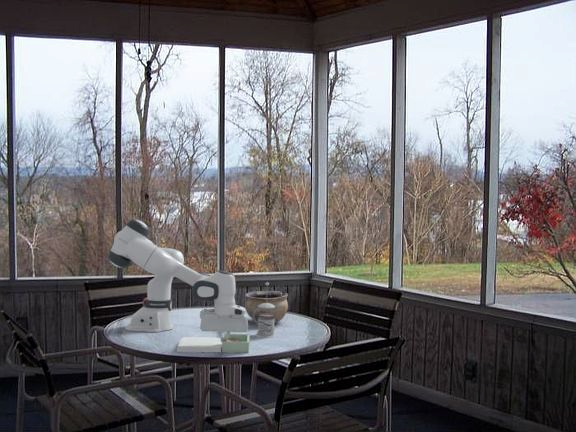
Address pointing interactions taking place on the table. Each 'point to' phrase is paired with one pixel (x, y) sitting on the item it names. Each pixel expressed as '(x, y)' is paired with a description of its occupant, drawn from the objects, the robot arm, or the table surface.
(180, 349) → the white square board
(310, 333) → the table surface
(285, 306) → the ceramic bowl
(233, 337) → the tray
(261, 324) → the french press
